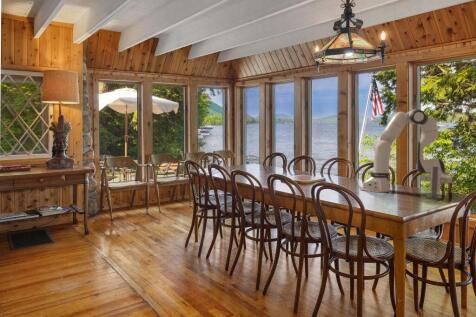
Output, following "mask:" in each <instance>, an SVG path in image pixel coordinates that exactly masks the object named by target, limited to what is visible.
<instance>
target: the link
mask: <svg viewBox="0 0 476 317" xmlns="http://www.w3.org/2000/svg"><path fill="white" fill-rule="evenodd" d="M440 173H441V171H438V179H437V192H440V190H441V184H440ZM432 174H433V170H431V172H430V175H429V176H430V182H429V191H431V192H432Z"/></svg>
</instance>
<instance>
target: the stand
mask: <svg viewBox="0 0 476 317" xmlns="http://www.w3.org/2000/svg"><path fill="white" fill-rule="evenodd" d="M437 179H438V167H436V166H433V174H432V191H431V193H432V195H427V196H426V199H429V200H431V199H432V200H442V198H443V195H439V194H438V191H437Z"/></svg>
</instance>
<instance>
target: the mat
mask: <svg viewBox="0 0 476 317" xmlns="http://www.w3.org/2000/svg"><path fill="white" fill-rule="evenodd" d="M418 195H419V196H424V197H427V195H432V192H431V193H429V192H420V193H419V194H418Z"/></svg>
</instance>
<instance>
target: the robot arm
mask: <svg viewBox="0 0 476 317" xmlns="http://www.w3.org/2000/svg"><path fill="white" fill-rule="evenodd" d="M407 124H412V125H419V126H420V129H421V137H420V139H418V142H417V154H416V156H417V159H416V160H417V161H416V171H417V172H418V173H419V174H422V175H420V176H419V177H420V178H419V181H420V182H429V183H430V175H427V174H426V173H431V170H433V166H436V167H438V171H441V173H440V185H442V184H452V182H453V177H452V176H451V174H448V173H444V172H445V170H446V168H445V164H444V161H443V160H442V159H441V158H438V157H437V158H432V159H424V149H425V148H426V147H427V146H428V145H431V144H433V143H434V142H436V141H437V140H438V138H439V127H438V125H437V121H436V118H435V117H434V116H432V115H427V114H426V113H425V112H424V110H422V109H416V108H414V109H411V110H408V111H406V112H404V111H397V112H395V114H394V115H393V117H391V119H390V120H389V122H388V124H387V125H386V126H385V128H384V129H383V131H382V133H380V134H379V136H378V138H377V139H376V140H375V142H374V143H373V146H372V148H373V151H374V156H373V157H374V159H373V171H371V172H370V177H368V178H366V179H365V180H364V181H363V182H362V186H361V187H359V190H360V191H365V192H373V193H386V192H388V193H389V192H391V189H390V182H389V181H390V171H389V170H390V157H391V151H392V144H393V143H394V142H395V141H396V140H397V139H398V138H399V136H400V134H401V133H402V131H403V130H404V128H405V127H406V125H407ZM423 174H424V175H423Z"/></svg>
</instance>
